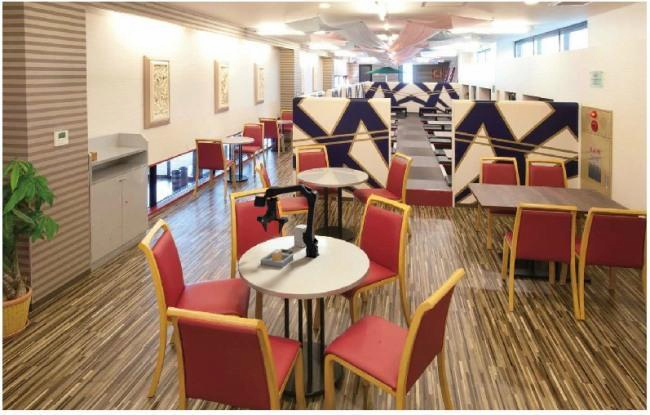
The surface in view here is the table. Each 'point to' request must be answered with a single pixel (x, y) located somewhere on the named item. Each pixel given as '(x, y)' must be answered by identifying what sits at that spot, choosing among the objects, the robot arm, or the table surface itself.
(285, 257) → the tray
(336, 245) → the table surface
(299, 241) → the supplement box
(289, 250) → the holder
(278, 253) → the white and orange block
